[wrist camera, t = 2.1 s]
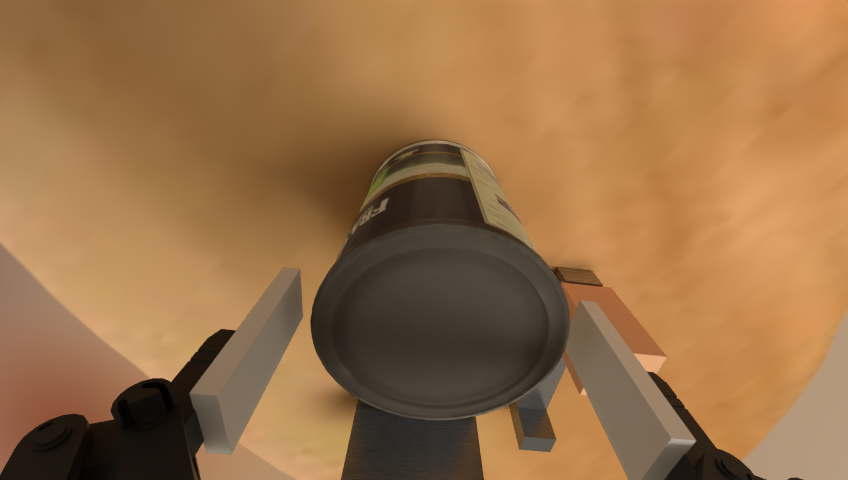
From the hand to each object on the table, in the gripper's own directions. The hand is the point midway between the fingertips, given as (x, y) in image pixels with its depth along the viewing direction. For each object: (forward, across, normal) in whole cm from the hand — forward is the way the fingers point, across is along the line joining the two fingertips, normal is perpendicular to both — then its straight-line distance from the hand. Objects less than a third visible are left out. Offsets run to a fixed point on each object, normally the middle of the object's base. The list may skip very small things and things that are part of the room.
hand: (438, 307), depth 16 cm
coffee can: (+12, 0, +1) cm, 12 cm away
